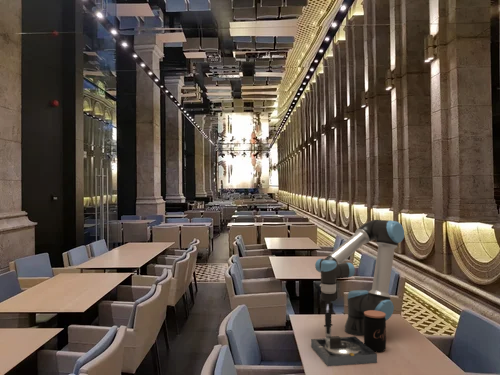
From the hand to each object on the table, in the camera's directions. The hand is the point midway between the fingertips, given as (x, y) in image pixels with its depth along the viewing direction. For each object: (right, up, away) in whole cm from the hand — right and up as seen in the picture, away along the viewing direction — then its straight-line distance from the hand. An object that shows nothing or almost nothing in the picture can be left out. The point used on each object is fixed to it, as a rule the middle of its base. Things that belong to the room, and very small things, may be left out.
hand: (328, 339), depth 203 cm
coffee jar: (+24, -6, +4) cm, 25 cm away
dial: (+6, -4, -3) cm, 8 cm away
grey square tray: (+6, -6, -3) cm, 9 cm away
